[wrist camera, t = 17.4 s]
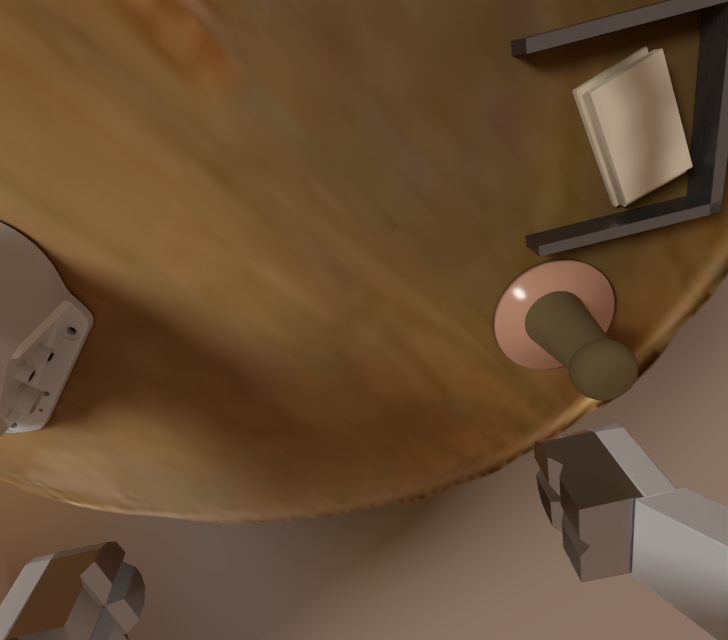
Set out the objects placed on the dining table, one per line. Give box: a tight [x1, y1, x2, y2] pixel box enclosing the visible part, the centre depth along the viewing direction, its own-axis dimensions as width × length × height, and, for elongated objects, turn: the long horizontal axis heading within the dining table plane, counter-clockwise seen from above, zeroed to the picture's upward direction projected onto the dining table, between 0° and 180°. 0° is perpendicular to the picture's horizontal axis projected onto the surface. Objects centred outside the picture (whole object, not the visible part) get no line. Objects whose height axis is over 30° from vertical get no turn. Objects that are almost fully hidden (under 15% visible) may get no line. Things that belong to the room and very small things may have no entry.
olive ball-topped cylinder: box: [525, 291, 638, 400], centre depth 43 cm, size 6×6×11 cm
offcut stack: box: [572, 47, 693, 207], centre depth 40 cm, size 6×11×3 cm, turn 31°
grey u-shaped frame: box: [511, 0, 728, 257], centre depth 39 cm, size 16×17×3 cm
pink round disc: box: [493, 259, 614, 369], centre depth 48 cm, size 12×12×1 cm
